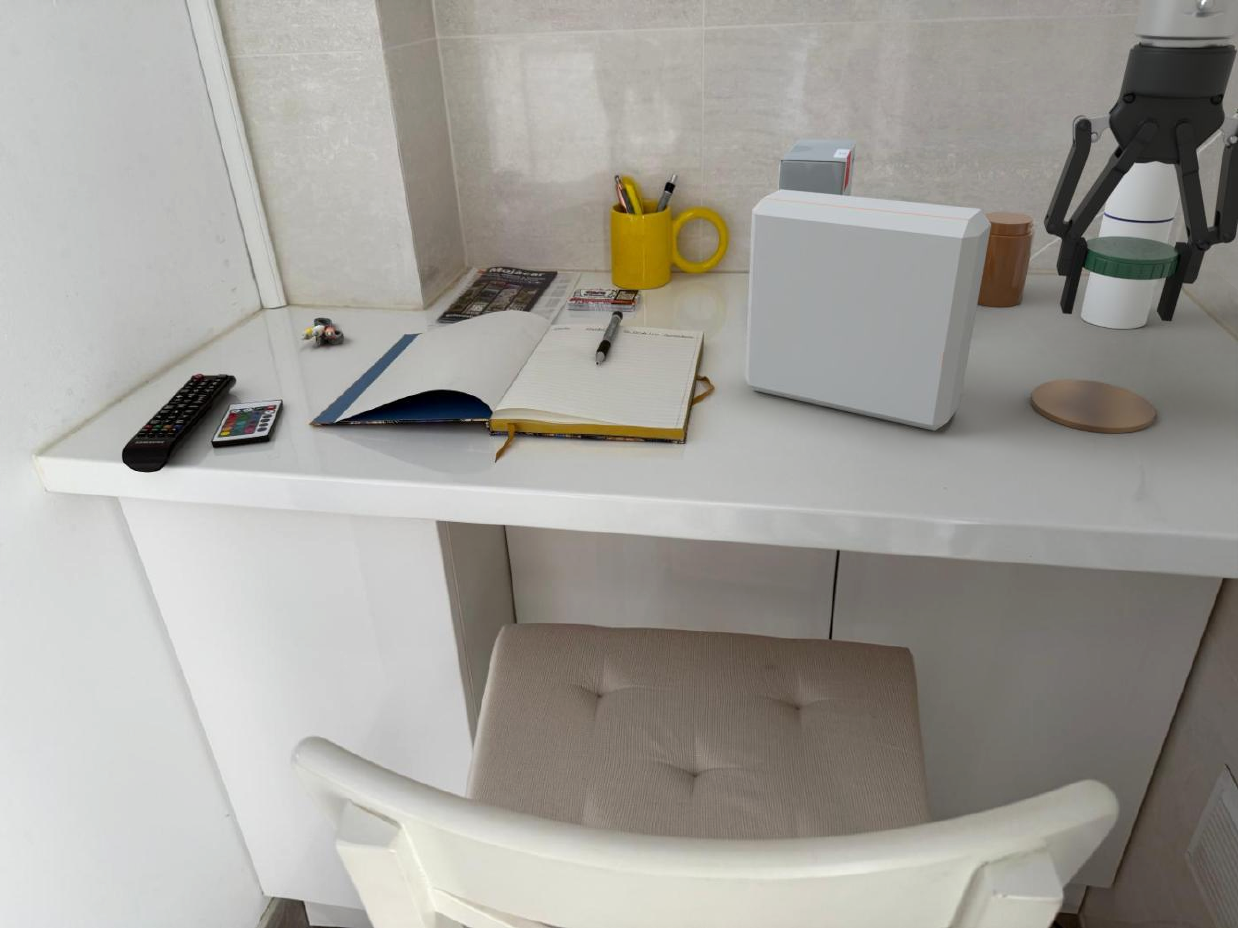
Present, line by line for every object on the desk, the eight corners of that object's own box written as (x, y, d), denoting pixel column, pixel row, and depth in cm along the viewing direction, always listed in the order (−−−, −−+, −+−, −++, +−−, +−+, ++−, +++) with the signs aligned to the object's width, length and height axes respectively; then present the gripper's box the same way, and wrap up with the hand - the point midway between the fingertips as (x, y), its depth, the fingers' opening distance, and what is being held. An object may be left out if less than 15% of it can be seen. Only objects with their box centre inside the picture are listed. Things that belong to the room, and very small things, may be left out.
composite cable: (314, 324, 115) (310, 306, 114) (351, 321, 116) (348, 303, 115) (303, 352, 107) (298, 333, 106) (343, 348, 107) (339, 329, 106)
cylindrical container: (1078, 324, 106) (1128, 103, 94) (1083, 306, 112) (1131, 94, 99) (1145, 332, 103) (1206, 104, 91) (1146, 313, 108) (1204, 96, 96)
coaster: (1143, 390, 90) (1144, 385, 89) (1164, 439, 80) (1166, 433, 80) (1026, 380, 93) (1027, 374, 92) (1034, 425, 84) (1035, 420, 83)
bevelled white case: (964, 406, 88) (1000, 204, 78) (941, 439, 82) (977, 225, 72) (771, 366, 98) (781, 183, 88) (738, 393, 92) (746, 200, 82)
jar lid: (1084, 277, 78) (1089, 257, 77) (1074, 252, 84) (1079, 234, 83) (1182, 283, 75) (1188, 262, 74) (1165, 257, 82) (1170, 238, 81)
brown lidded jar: (1019, 291, 117) (1035, 212, 112) (1023, 309, 111) (1039, 226, 106) (964, 288, 119) (977, 210, 114) (964, 305, 113) (978, 223, 108)
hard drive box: (830, 330, 107) (845, 161, 97) (767, 325, 109) (776, 159, 99) (842, 291, 120) (857, 137, 110) (786, 287, 122) (795, 136, 112)
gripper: (1050, 46, 70) (998, 317, 82) (1352, 44, 64) (1251, 336, 76) (1042, 39, 77) (995, 292, 88) (1318, 37, 71) (1229, 308, 82)
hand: (1114, 312), depth 82 cm, fingers closed on jar lid, 7 cm apart
